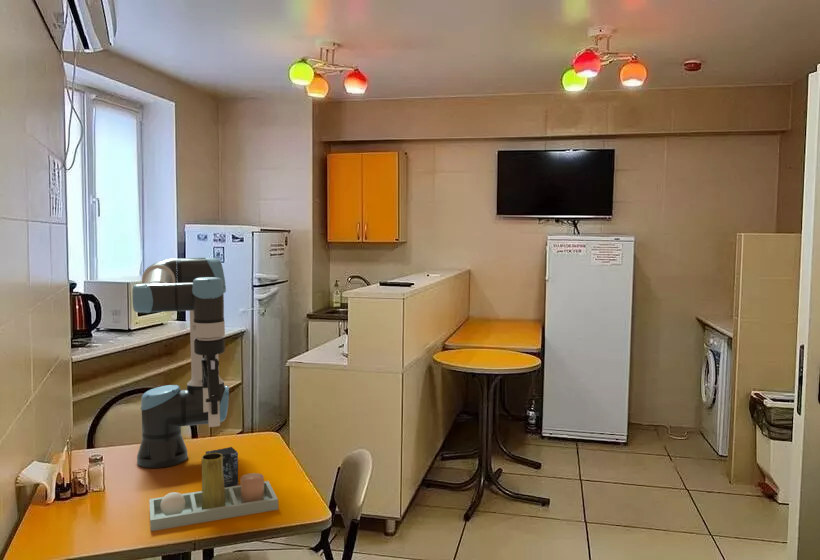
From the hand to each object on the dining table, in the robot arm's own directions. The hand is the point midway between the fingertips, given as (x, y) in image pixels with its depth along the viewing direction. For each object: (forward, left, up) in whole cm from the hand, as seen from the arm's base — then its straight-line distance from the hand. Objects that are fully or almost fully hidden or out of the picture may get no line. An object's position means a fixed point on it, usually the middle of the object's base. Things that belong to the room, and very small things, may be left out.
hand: (211, 418), depth 167 cm
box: (-16, +4, -25) cm, 30 cm away
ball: (0, -10, -24) cm, 26 cm away
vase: (0, 0, -24) cm, 24 cm away
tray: (0, 0, -25) cm, 25 cm away
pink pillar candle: (0, +10, -24) cm, 26 cm away
